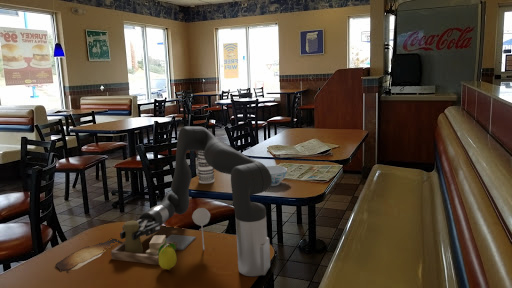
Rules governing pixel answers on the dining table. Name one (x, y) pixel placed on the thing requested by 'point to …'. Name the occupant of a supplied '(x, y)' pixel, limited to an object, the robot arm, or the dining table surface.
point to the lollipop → (201, 219)
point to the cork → (130, 244)
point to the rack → (136, 255)
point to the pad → (181, 240)
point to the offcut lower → (153, 252)
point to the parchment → (84, 256)
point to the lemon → (167, 256)
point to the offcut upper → (157, 242)
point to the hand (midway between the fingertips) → (127, 236)
